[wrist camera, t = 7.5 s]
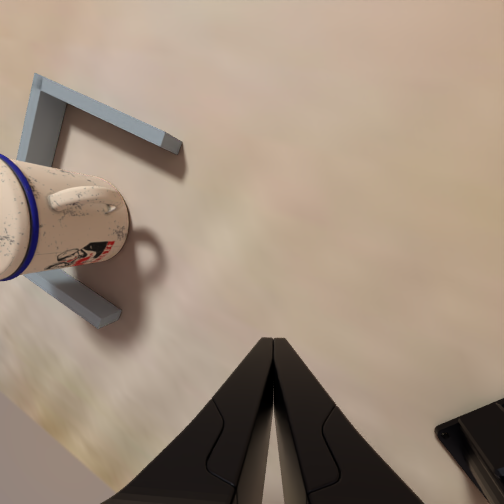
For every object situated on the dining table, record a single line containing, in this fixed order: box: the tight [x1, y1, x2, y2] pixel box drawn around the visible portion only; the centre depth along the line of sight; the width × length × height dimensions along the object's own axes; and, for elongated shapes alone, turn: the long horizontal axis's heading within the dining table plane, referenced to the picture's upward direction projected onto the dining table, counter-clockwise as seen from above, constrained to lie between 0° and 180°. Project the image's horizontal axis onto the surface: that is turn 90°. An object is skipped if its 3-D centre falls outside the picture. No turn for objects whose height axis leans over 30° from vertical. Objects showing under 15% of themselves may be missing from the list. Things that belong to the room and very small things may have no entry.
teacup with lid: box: [0, 154, 129, 281], centre depth 19 cm, size 12×9×12 cm
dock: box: [16, 73, 182, 329], centre depth 24 cm, size 15×19×2 cm
